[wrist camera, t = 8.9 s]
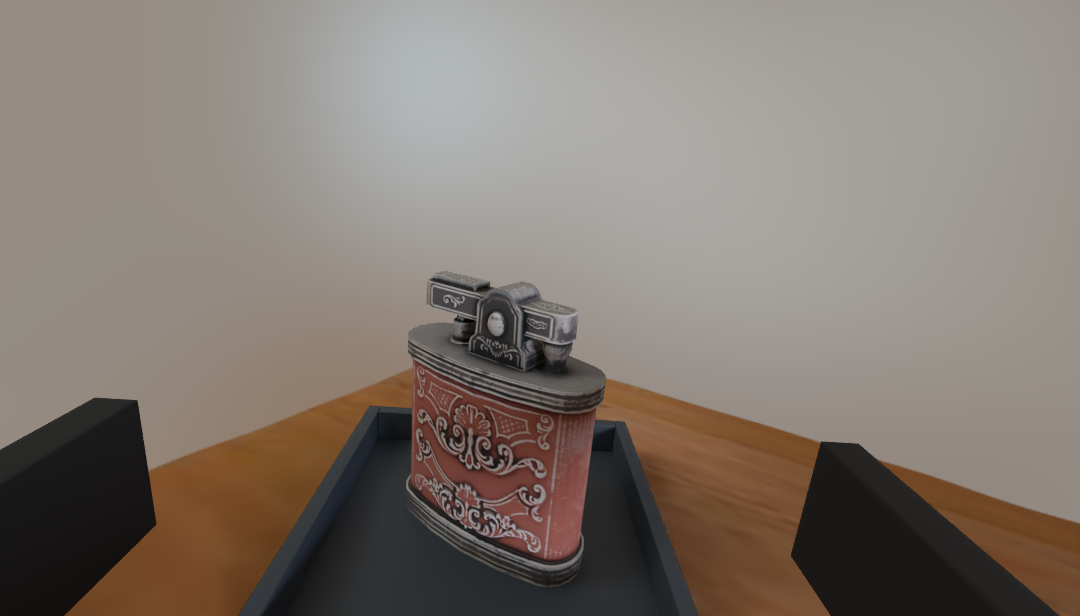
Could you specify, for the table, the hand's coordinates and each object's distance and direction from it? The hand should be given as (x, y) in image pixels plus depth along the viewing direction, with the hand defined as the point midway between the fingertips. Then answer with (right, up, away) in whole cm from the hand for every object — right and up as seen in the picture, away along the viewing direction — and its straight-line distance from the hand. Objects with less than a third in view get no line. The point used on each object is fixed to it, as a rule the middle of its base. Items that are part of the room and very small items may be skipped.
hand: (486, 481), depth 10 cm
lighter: (-1, -6, +10) cm, 12 cm away
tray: (-1, -6, +10) cm, 12 cm away
